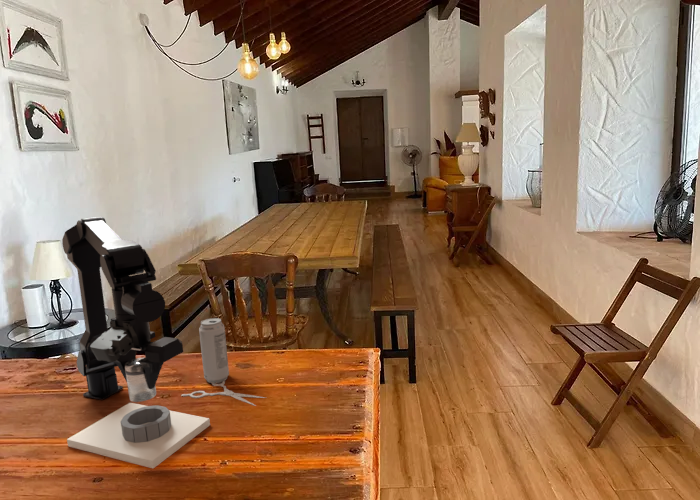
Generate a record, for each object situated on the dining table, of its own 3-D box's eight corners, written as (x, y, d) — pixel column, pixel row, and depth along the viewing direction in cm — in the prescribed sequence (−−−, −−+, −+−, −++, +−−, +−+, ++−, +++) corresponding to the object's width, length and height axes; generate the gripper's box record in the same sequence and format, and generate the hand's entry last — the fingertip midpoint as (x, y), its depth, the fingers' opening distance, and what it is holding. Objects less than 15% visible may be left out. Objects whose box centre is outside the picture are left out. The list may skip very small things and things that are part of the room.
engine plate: (68, 446, 105) (64, 425, 104) (130, 408, 119) (128, 389, 119) (153, 468, 96) (150, 445, 95) (210, 425, 110) (207, 404, 110)
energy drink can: (214, 372, 137) (208, 316, 134) (234, 375, 134) (228, 318, 132) (199, 382, 131) (193, 324, 128) (220, 385, 129) (213, 326, 126)
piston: (122, 399, 104) (118, 366, 103) (142, 388, 109) (138, 355, 107) (142, 403, 102) (138, 369, 101) (162, 392, 107) (158, 359, 105)
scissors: (212, 377, 133) (277, 390, 124) (212, 379, 134) (277, 393, 124) (180, 395, 124) (247, 411, 115) (180, 398, 125) (247, 414, 115)
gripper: (59, 319, 99) (72, 397, 102) (135, 329, 91) (146, 413, 94) (108, 302, 109) (118, 374, 112) (180, 309, 101) (189, 386, 104)
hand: (141, 386), depth 105 cm, fingers closed on piston, 5 cm apart
